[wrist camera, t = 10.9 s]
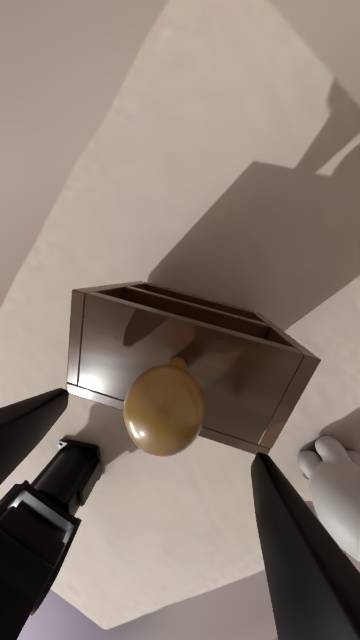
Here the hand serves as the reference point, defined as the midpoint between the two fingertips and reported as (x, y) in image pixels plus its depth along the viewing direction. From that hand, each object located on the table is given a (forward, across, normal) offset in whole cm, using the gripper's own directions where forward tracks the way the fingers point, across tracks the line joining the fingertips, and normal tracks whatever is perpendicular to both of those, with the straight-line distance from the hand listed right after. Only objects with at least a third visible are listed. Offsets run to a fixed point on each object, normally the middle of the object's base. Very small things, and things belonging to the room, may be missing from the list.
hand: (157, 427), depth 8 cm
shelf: (+5, 0, +2) cm, 5 cm away
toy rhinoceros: (+13, -19, +12) cm, 26 cm away
